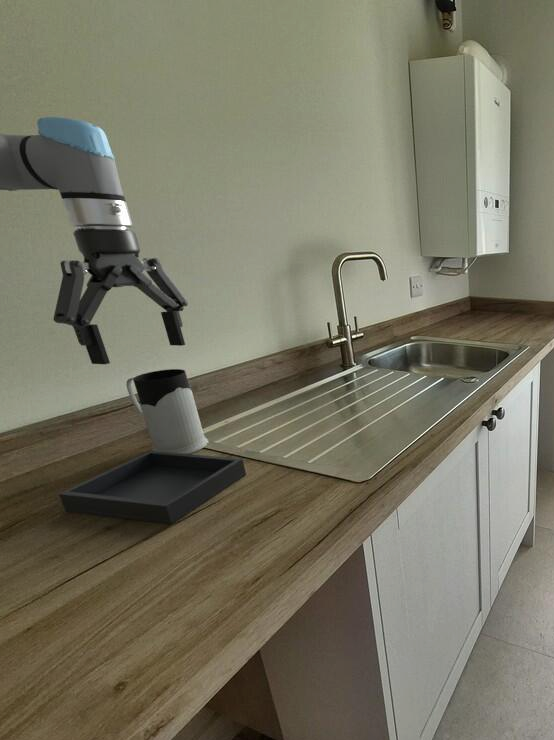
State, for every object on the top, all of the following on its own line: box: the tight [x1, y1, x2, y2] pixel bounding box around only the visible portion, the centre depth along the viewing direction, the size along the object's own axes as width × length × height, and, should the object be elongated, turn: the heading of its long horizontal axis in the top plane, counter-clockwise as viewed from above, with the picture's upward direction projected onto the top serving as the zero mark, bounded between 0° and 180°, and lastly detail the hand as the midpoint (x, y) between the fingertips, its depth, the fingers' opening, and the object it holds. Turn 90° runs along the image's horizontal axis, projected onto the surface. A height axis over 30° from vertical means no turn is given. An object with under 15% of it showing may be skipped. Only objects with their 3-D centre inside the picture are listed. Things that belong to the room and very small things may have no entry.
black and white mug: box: [126, 368, 209, 454], centre depth 79 cm, size 9×14×15 cm, turn 73°
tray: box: [58, 450, 247, 525], centre depth 65 cm, size 19×14×3 cm
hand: (142, 353), depth 74 cm, fingers open, 13 cm apart
